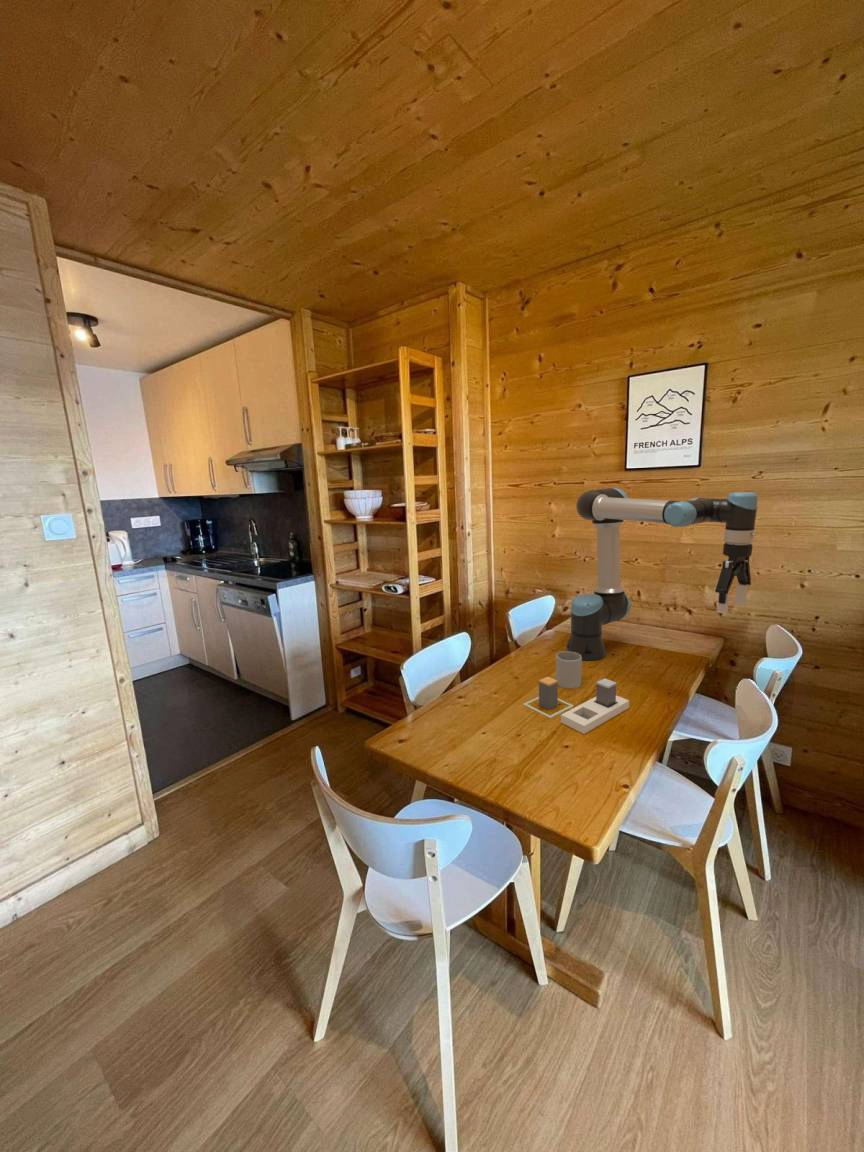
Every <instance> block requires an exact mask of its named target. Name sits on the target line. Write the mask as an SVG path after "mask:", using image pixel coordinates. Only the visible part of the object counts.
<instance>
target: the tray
mask: <svg viewBox="0 0 864 1152" xmlns="http://www.w3.org/2000/svg"><path fill="white" fill-rule="evenodd" d="M535 701H539V696H537V697H535V698H532V699H531V700H529V701H527V702H525V703H523V704H522V705H523V706H525V707H527V708H529V709H531V710H533V711H534V712H536V713H539V714H541V715H543V716H545V717H547V718H548V719H552V718H554V717H556V716H558V715H561V714H563V713H565V711H566V712H567V711H569V709H570V710H571V709H573V707H574V705H573V704H572V703H569V702H567V701H564V700H562V699H561V698H558V702H560V703H562V704H565V705H567V706H566V707H564V708H562V709H560V710H558V711H557V712H554V713H553V714H551V715H549V714H548V713H546V712H544V711H542V710H539V709H538V708H535V707H534V706H531V705H530V704H532V703H533V702H535Z"/></svg>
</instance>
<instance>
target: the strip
mask: <svg viewBox="0 0 864 1152" xmlns="http://www.w3.org/2000/svg"><path fill="white" fill-rule="evenodd" d="M629 708H630V699H629V700H628V699H626V698H624V697H622V696H620V695H619V696H618V695H617V694H616V704H615V705H613V706H611V707H609V708H607V707H605V706H602V705H600V704H598V703H596V696H595V697H592V698H591V699H589V700H587V701H585V702H583V703H580V704H578V705H577V706H575V707H574V708H573V707H572V708H570V710H569V709H568V710H566V712H565V711H564V712H562V713H561V714H560V723H561V724H563V725H564V726H566V727H569V728H571V729H573V730H575V731H577V732H579V733H581V734H583V735H585V734H587V733H589V732H590V731H592V730H594V729H596V728H597V727H600V726H601V725H602V724H605V723H606V722H607V721H610V720H611V719H612V718H614V717H616V716H618V715H620V714H622V713H623V712H625V711H626V710H629Z"/></svg>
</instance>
